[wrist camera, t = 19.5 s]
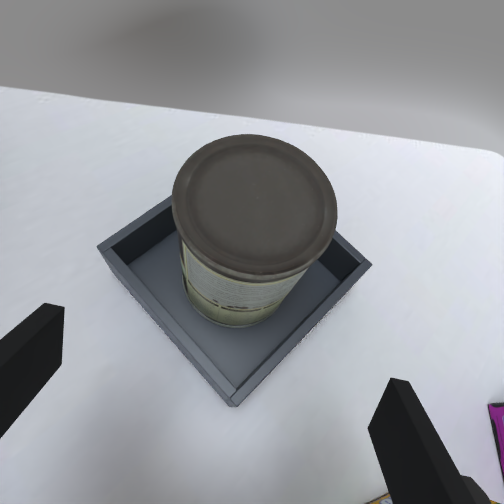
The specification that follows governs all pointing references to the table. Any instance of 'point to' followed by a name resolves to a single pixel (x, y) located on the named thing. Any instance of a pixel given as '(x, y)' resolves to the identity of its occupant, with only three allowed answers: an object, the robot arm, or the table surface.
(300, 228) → the coffee can
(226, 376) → the grey bin
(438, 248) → the table surface
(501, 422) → the candy bar box
